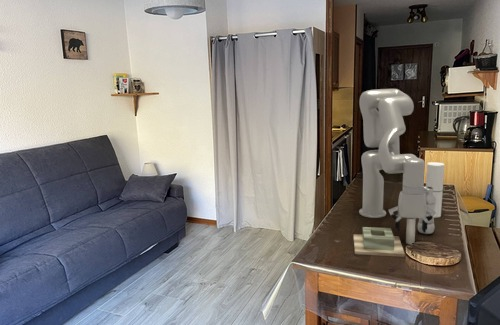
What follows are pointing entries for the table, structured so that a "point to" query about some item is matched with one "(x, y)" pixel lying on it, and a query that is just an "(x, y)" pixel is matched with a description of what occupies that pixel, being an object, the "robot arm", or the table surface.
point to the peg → (410, 230)
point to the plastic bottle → (430, 204)
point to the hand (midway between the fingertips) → (410, 230)
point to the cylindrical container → (436, 183)
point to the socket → (378, 242)
